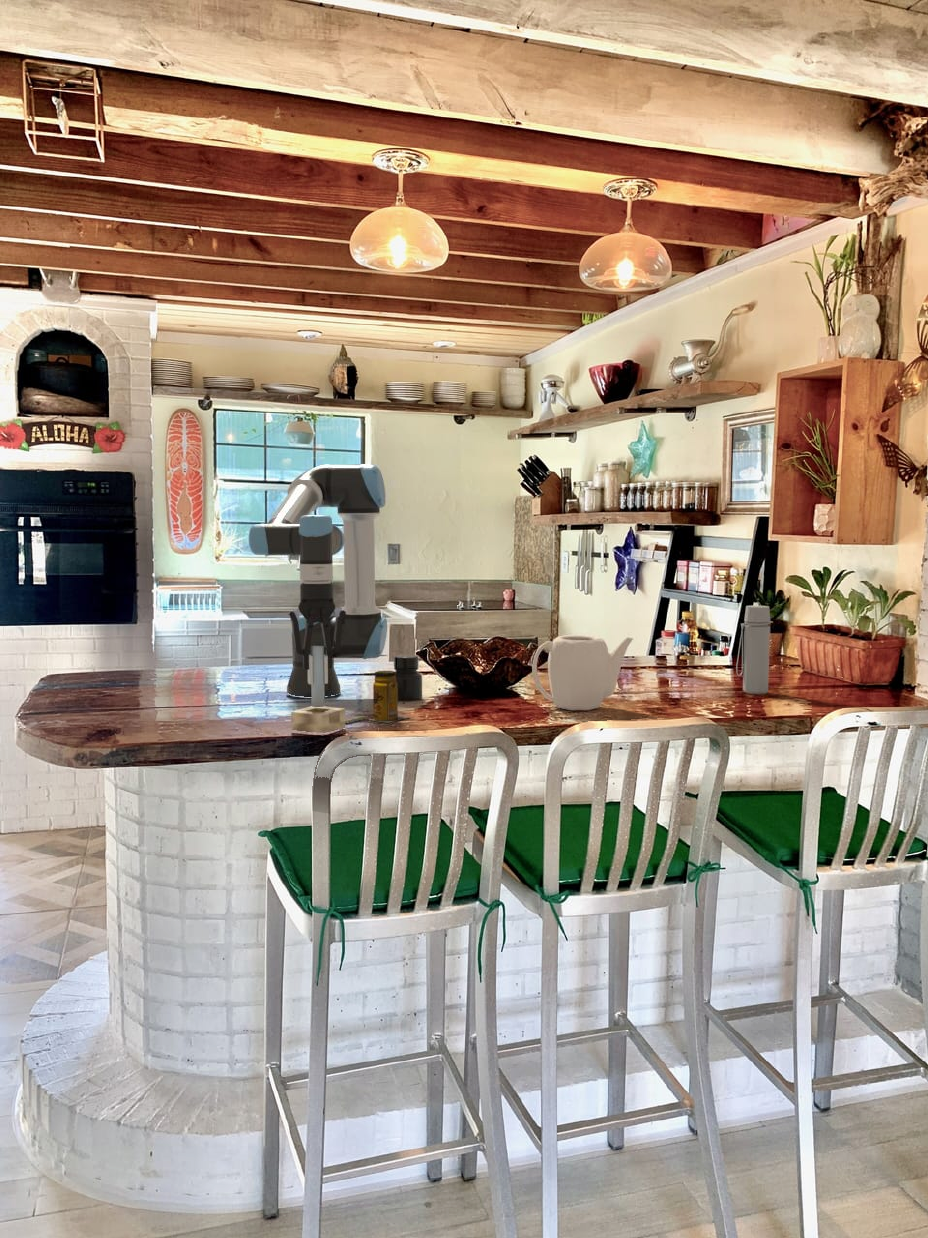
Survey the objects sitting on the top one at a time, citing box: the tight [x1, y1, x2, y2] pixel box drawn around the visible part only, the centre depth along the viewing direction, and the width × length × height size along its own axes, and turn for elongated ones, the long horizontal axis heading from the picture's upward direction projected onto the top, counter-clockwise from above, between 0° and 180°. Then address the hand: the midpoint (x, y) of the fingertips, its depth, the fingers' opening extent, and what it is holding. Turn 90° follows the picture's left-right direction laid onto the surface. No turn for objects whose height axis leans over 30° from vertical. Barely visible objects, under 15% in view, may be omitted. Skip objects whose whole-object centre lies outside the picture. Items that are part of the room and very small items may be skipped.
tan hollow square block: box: [290, 705, 346, 733], centre depth 226 cm, size 9×9×5 cm
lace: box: [345, 715, 367, 723], centre depth 236 cm, size 10×1×1 cm, turn 143°
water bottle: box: [735, 605, 772, 695], centre depth 277 cm, size 9×8×25 cm
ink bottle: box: [393, 654, 423, 702], centre depth 268 cm, size 10×9×12 cm
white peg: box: [311, 646, 326, 707], centre depth 224 cm, size 3×3×14 cm
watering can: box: [531, 634, 634, 711], centre depth 255 cm, size 16×27×19 cm, turn 91°
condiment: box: [368, 670, 409, 724], centre depth 240 cm, size 7×8×12 cm
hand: (317, 682), depth 225 cm, fingers closed on white peg, 3 cm apart
